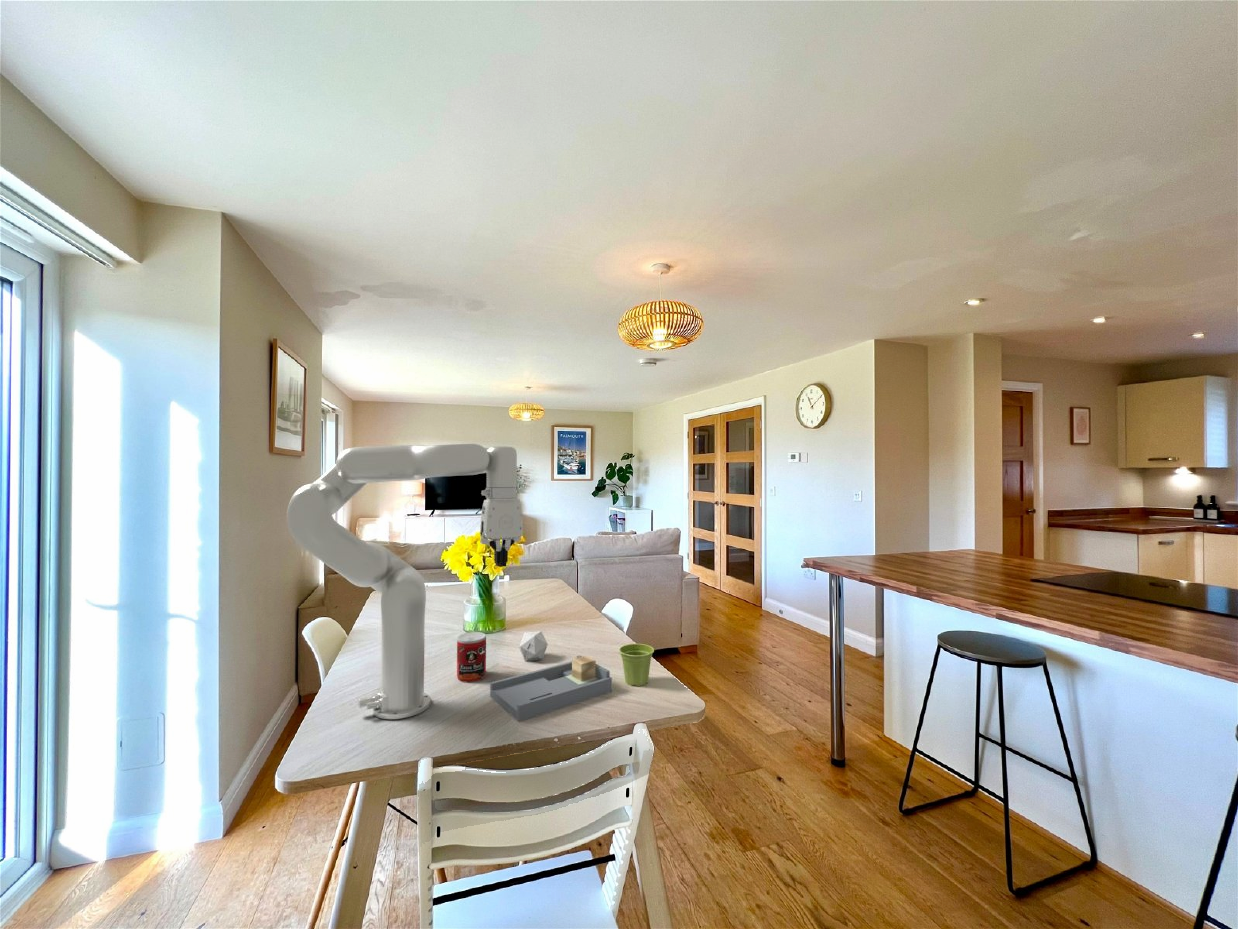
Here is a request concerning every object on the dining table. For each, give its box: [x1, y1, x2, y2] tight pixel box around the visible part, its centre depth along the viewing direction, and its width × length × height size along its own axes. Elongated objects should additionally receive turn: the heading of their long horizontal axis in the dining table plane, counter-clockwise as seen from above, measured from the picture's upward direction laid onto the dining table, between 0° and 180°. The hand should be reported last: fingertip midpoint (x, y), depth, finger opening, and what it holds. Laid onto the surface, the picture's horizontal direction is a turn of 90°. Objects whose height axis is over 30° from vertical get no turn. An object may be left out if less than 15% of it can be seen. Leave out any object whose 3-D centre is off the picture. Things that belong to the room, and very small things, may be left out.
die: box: [519, 630, 549, 662], centre depth 152 cm, size 8×9×10 cm
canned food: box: [456, 631, 487, 683], centre depth 138 cm, size 8×8×11 cm
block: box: [571, 655, 597, 682], centre depth 133 cm, size 4×4×4 cm
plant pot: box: [618, 643, 655, 687], centre depth 135 cm, size 9×9×9 cm
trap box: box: [489, 654, 613, 723], centre depth 127 cm, size 26×16×5 cm, turn 128°
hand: (500, 565), depth 129 cm, fingers closed
